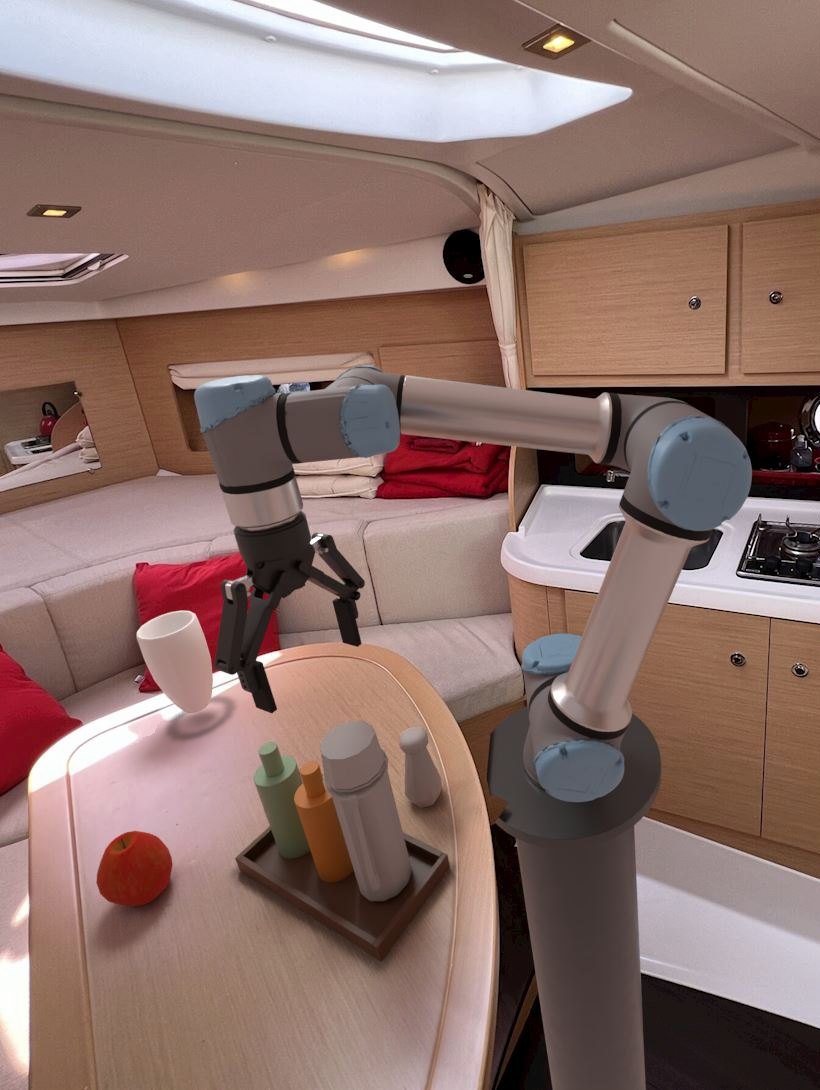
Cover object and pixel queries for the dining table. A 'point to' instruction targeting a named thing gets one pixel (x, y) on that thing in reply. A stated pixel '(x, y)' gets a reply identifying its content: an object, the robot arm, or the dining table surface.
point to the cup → (178, 659)
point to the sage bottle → (281, 799)
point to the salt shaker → (419, 768)
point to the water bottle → (366, 809)
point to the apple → (134, 869)
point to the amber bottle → (322, 825)
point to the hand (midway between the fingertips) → (312, 673)
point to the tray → (346, 892)
